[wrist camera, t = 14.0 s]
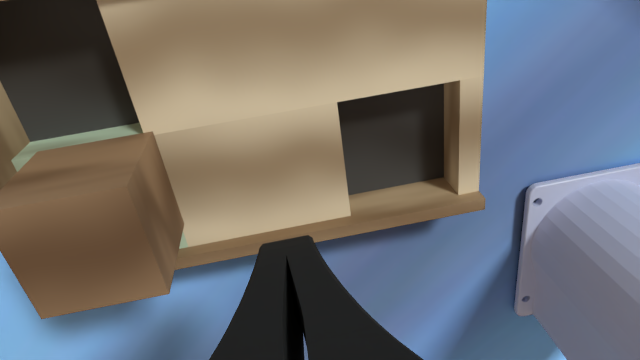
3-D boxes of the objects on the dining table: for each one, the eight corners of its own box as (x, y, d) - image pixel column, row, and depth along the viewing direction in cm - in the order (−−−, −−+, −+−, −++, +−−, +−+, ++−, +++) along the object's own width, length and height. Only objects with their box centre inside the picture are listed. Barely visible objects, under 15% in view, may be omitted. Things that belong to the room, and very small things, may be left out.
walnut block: (184, 223, 20) (169, 293, 16) (81, 243, 20) (41, 319, 16) (152, 131, 18) (126, 186, 14) (37, 151, 18) (-23, 213, 14)
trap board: (461, 181, 24) (492, 218, 21) (71, 256, 23) (43, 307, 19) (466, -95, 18) (513, -101, 15) (-67, -11, 16) (-138, 1, 13)
